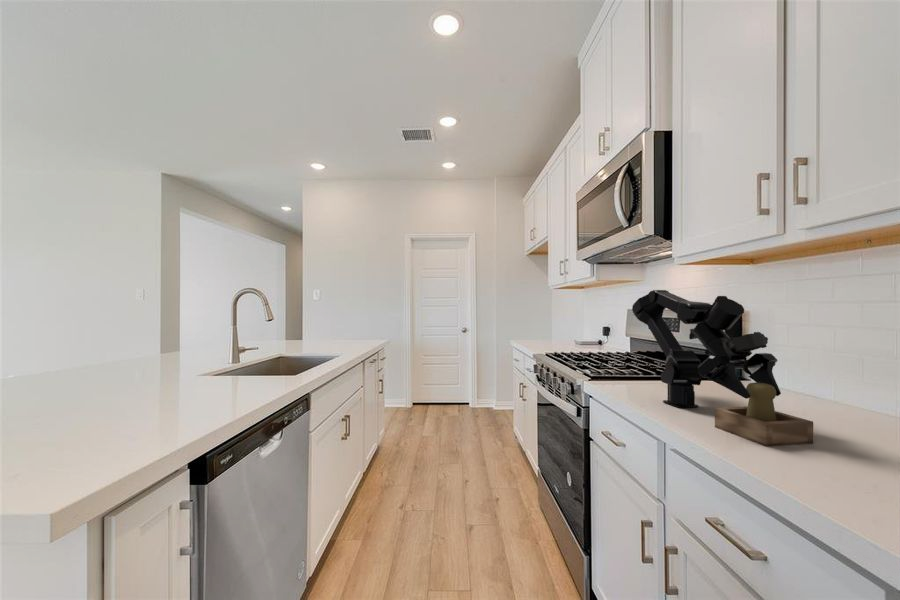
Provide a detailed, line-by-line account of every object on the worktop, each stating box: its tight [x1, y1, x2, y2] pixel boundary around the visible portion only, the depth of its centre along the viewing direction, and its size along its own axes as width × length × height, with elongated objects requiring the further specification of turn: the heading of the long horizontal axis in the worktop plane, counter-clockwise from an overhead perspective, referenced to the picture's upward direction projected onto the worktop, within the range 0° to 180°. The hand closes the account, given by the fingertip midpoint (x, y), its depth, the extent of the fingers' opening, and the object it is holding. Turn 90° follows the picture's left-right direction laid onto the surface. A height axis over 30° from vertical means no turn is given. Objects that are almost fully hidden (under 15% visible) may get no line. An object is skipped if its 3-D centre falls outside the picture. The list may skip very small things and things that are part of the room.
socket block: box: [714, 405, 814, 447], centre depth 83 cm, size 12×12×4 cm
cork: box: [745, 382, 777, 422], centre depth 83 cm, size 6×6×11 cm
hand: (764, 396), depth 82 cm, fingers open, 9 cm apart
